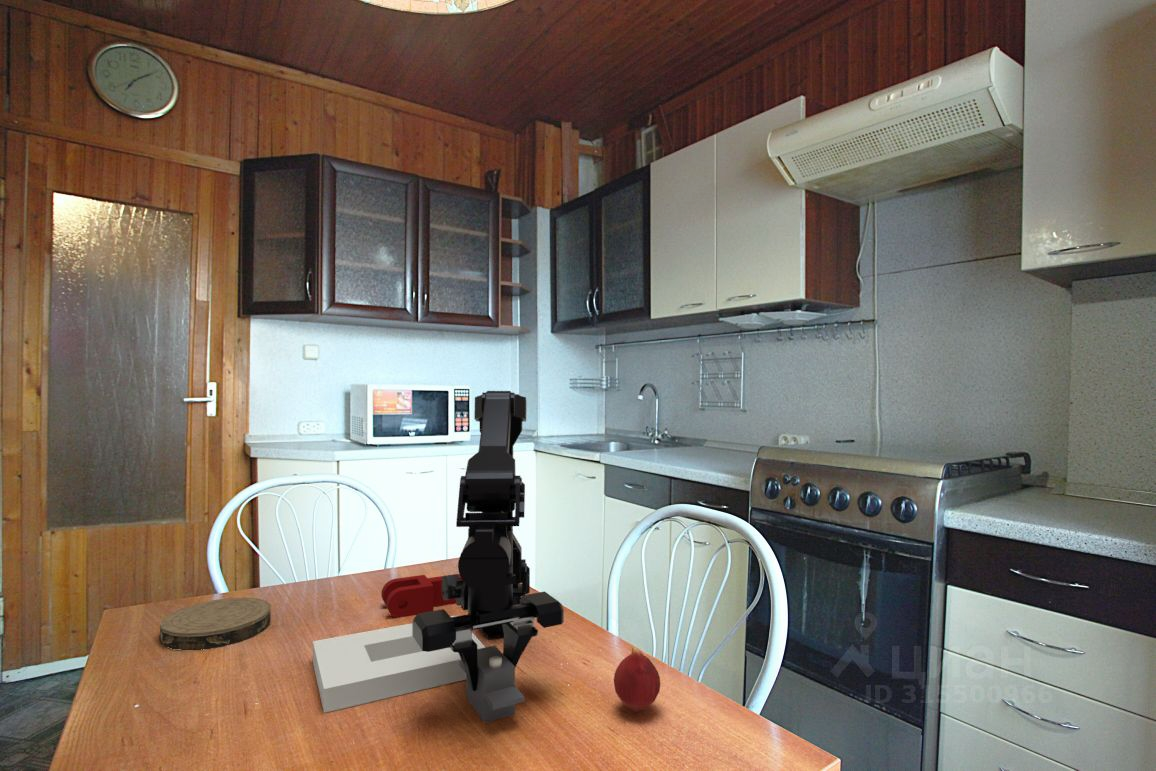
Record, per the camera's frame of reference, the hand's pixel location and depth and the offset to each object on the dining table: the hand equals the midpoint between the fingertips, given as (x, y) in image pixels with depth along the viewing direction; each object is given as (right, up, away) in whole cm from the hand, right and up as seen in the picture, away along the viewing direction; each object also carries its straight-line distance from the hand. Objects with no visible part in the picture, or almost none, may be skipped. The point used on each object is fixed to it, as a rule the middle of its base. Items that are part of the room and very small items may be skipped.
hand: (489, 685), depth 78 cm
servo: (0, -3, 0) cm, 3 cm away
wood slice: (-49, -3, +24) cm, 54 cm away
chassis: (-15, -3, +10) cm, 18 cm away
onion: (+19, -3, -1) cm, 19 cm away
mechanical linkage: (-17, -3, +35) cm, 39 cm away
